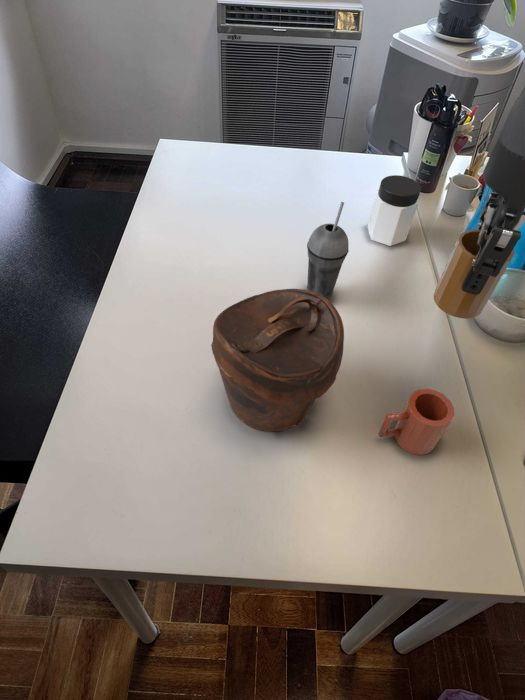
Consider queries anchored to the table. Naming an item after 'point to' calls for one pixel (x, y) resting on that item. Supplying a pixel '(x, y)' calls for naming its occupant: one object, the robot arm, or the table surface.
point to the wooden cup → (454, 275)
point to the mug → (420, 421)
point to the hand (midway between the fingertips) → (472, 273)
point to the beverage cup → (326, 256)
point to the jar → (393, 210)
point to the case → (277, 355)
